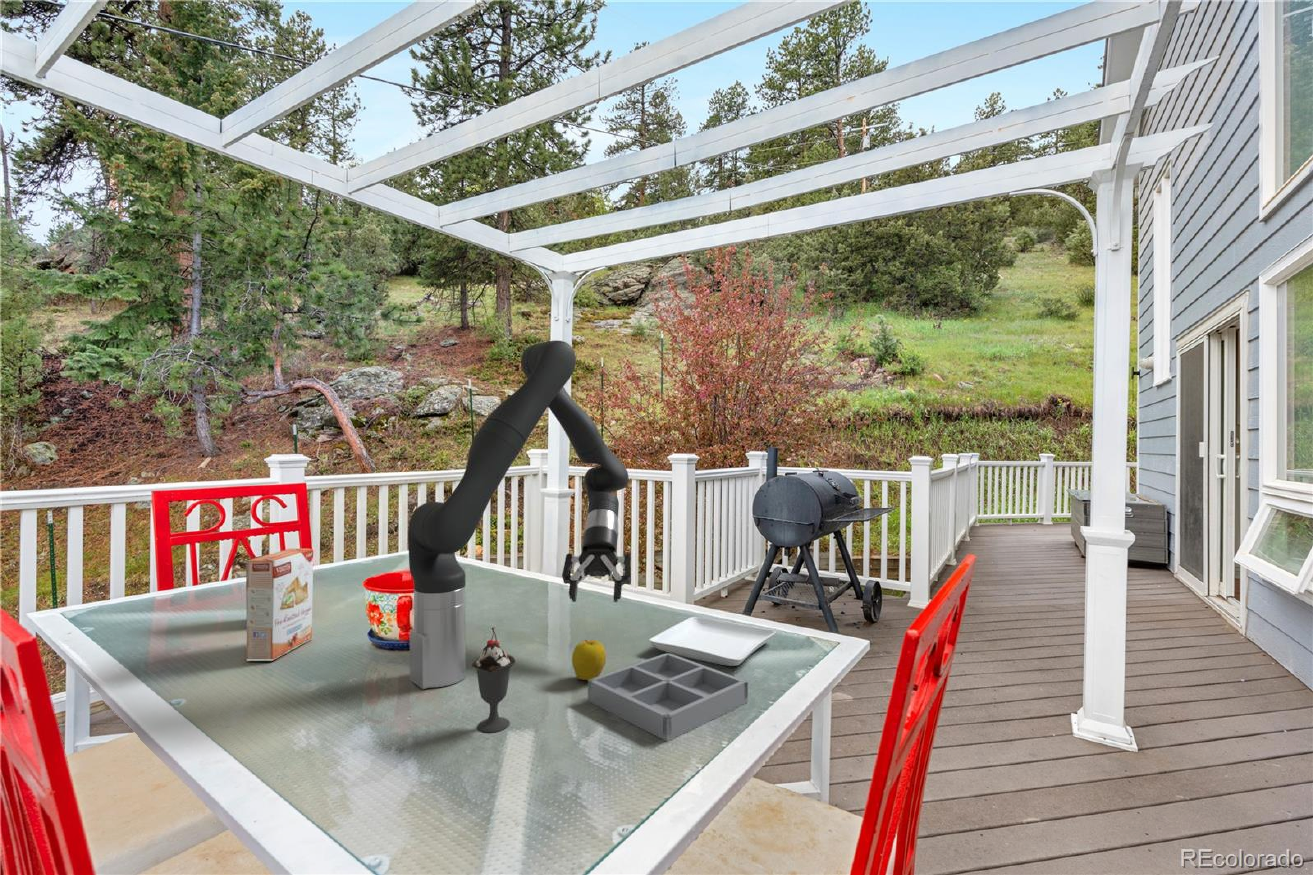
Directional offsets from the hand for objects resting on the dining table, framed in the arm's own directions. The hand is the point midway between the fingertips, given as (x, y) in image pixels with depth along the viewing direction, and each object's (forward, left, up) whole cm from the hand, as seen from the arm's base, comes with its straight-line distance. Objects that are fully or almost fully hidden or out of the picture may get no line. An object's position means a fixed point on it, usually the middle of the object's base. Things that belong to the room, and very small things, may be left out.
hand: (594, 600), depth 124 cm
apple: (-6, -6, -13) cm, 16 cm away
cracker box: (-44, +52, -13) cm, 69 cm away
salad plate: (+24, -11, -13) cm, 29 cm away
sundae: (-28, -10, -13) cm, 33 cm away
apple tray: (-2, -23, -13) cm, 27 cm away
